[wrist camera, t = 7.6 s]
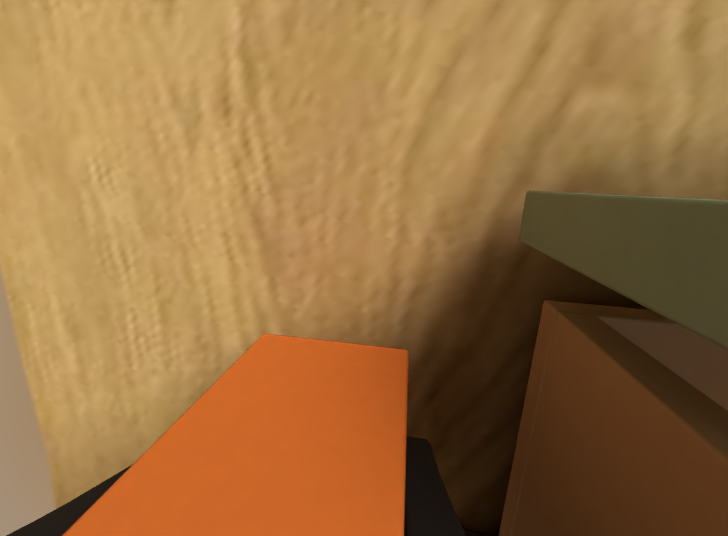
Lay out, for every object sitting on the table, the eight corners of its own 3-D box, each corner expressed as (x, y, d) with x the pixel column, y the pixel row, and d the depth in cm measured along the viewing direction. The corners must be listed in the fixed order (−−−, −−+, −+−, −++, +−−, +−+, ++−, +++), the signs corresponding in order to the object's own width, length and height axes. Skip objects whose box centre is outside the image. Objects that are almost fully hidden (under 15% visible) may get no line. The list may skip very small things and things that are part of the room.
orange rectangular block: (263, 332, 9) (26, 566, 4) (409, 348, 9) (401, 648, 3) (266, 480, 11) (92, 831, 5) (394, 501, 10) (370, 917, 4)
